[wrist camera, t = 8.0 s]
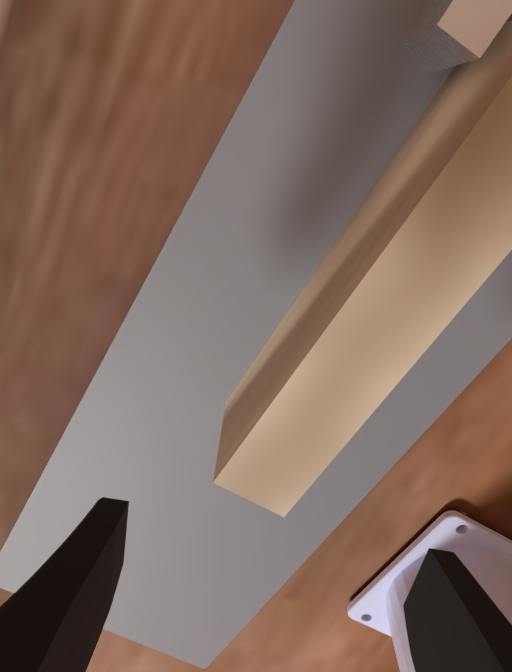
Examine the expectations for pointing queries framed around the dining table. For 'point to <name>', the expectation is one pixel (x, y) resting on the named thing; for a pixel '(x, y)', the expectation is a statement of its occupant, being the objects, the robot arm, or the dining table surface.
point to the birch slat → (379, 289)
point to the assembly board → (250, 341)
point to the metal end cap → (454, 31)
